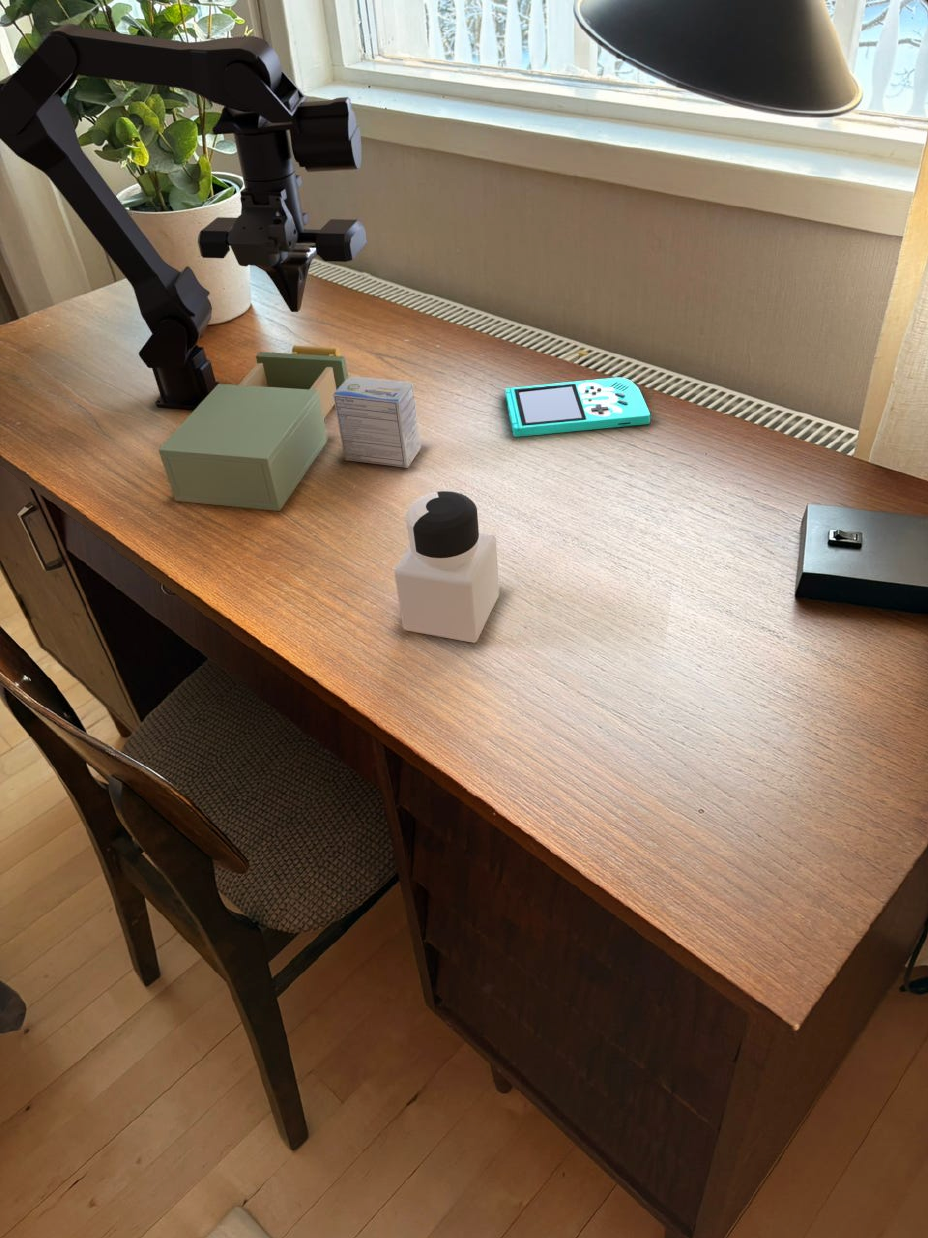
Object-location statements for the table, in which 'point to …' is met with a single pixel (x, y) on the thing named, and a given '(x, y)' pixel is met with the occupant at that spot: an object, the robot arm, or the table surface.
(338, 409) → the medicine box
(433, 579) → the medicine bottle
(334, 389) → the drawer
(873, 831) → the table surface
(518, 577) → the table surface
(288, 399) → the cabinet
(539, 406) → the handheld game console
